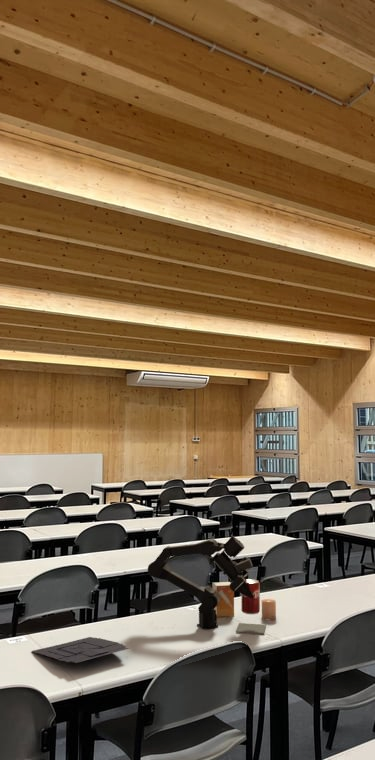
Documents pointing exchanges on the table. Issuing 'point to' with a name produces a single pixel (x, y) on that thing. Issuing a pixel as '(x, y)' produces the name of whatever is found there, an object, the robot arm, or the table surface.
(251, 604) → the soda can
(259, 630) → the coaster
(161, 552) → the robot arm
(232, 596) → the small box
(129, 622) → the table surface
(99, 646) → the dark grey flat square
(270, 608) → the orange-brown round cylinder
